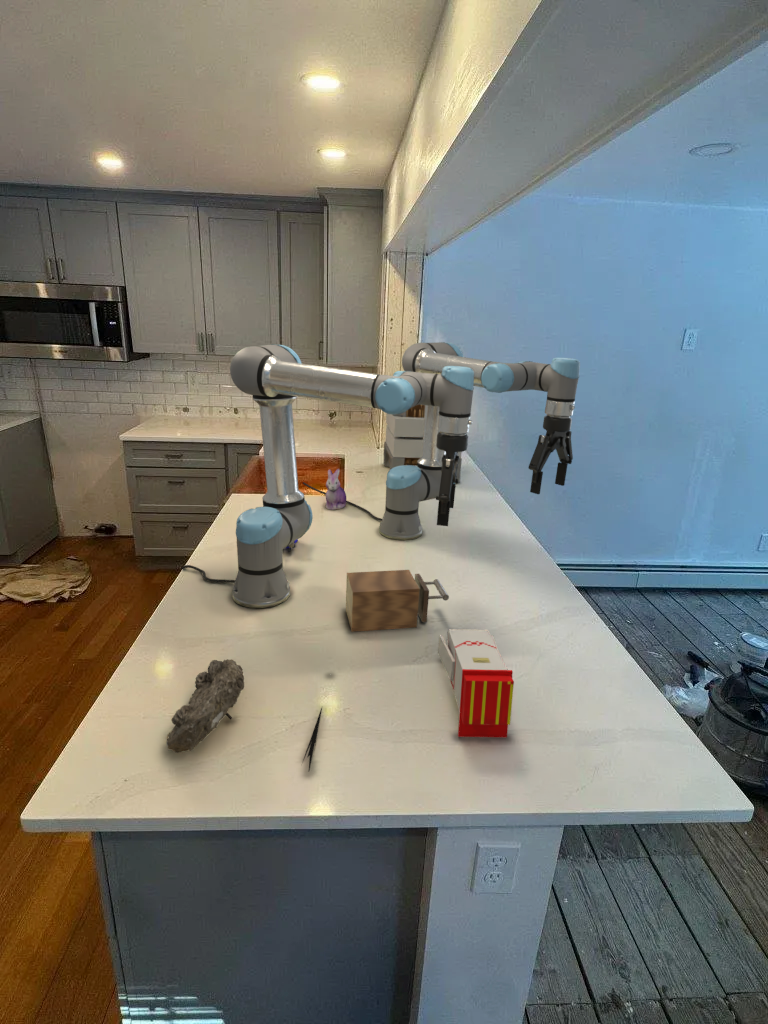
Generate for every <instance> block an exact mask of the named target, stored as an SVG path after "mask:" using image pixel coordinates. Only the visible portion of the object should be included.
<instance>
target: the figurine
mask: <svg viewBox="0 0 768 1024" xmlns="http://www.w3.org/2000/svg"><path fill="white" fill-rule="evenodd" d="M340 472H341V471H340V468H337V469H336V470H335V471H334V473H333V470H331V468H330V469H328V470H327V480H326V483H325V487H326V489H327V490H326V492H325V493H326V495H325V501H326V502H325V508H326V509H327V510H340V509H343V508H345V507H346V505H347V503H346V501H347V493H346V491H345V489H344V488H343V487H342V486H341V482H340V480H339V476H340Z"/></svg>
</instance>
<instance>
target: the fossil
mask: <svg viewBox="0 0 768 1024" xmlns="http://www.w3.org/2000/svg"><path fill="white" fill-rule="evenodd" d="M243 670H244V669H243V667H242V665H240V664H237V662H236V661H235V660H234V659H232V658H231V659H227V658H226V659H224V660H223V661H222V660H217V659H212V660H211V661H210V663H209V665H208V666H207V671H201V672H199V673H198V674H197V675H196V676H195V680H194V684H195V685H194V687H195V689H194V690H193V693H192V694H191V697H190V698H189V700H188V704H184V705H182V706H181V707H180V709H177V710H176V711H175V713H174V715H173V716H172V718H171V723H172V724H173V727H172V730H171V731H170V732H168V734H167V738H166V741H167V742H166V745H167V749H168V750H169V751H173V752H174V753H176V754H178V753H182V752H188V751H189V752H192V751H193V750H195V748H196V747H197V746H199V744H200V743H201V742H203V741H204V740H205V739H206V738H207V737H208V736H209V735H210V734H211V733H212V732H214V730H215V729H217V727H218V726H219V724H220V722H221V721H222V720H223V719H224V718H225V716H226V717H227V719H229V720H233V717H232V715H230V714H229V710H230V709H231V708H234V706H235V704H236V703H237V702H238V699H239V697H240V695H241V693H242V691H243V690H245V689H244V688H245V675H244V671H243Z"/></svg>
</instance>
